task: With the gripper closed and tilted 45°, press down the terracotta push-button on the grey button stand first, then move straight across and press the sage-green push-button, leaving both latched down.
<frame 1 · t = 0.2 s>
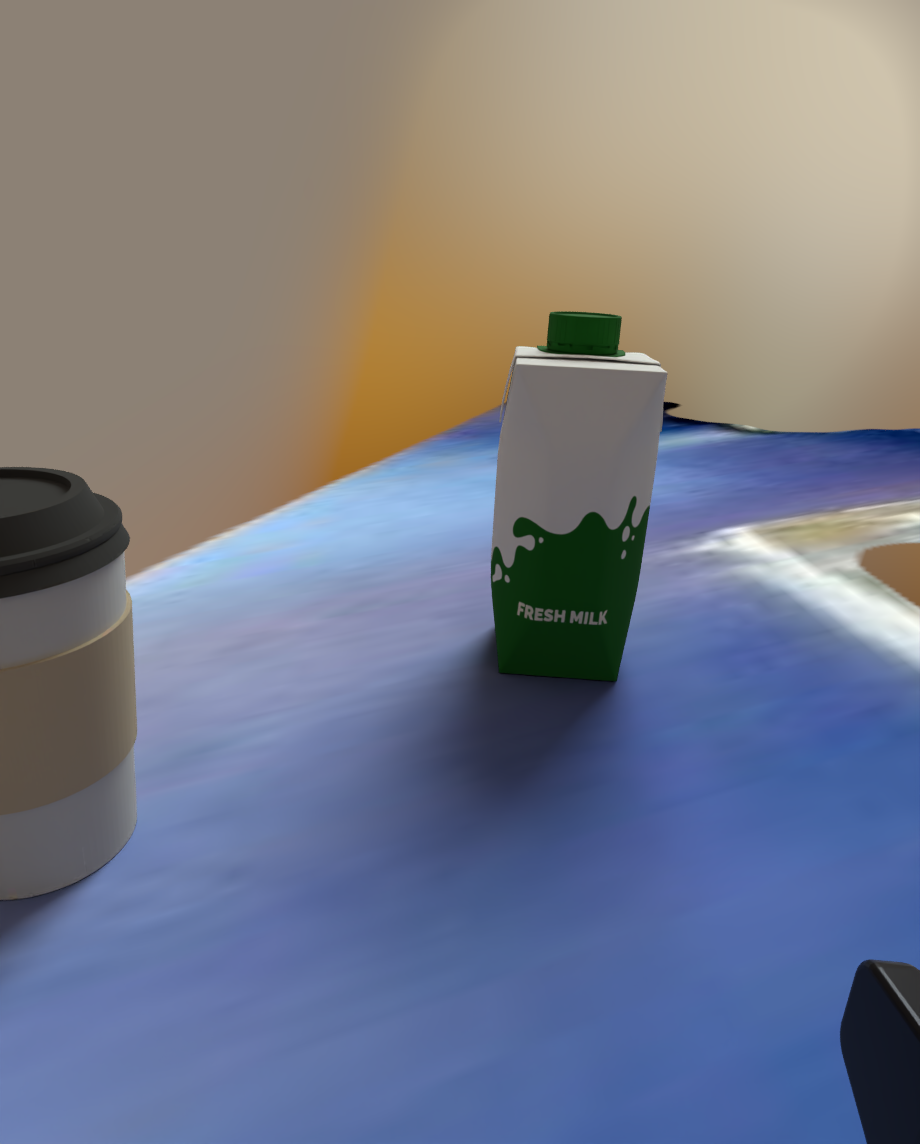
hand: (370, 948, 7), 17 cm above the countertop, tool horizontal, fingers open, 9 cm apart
coffee cup: (47, 838, 31), on the countertop
milk carton: (554, 652, 48), on the countertop
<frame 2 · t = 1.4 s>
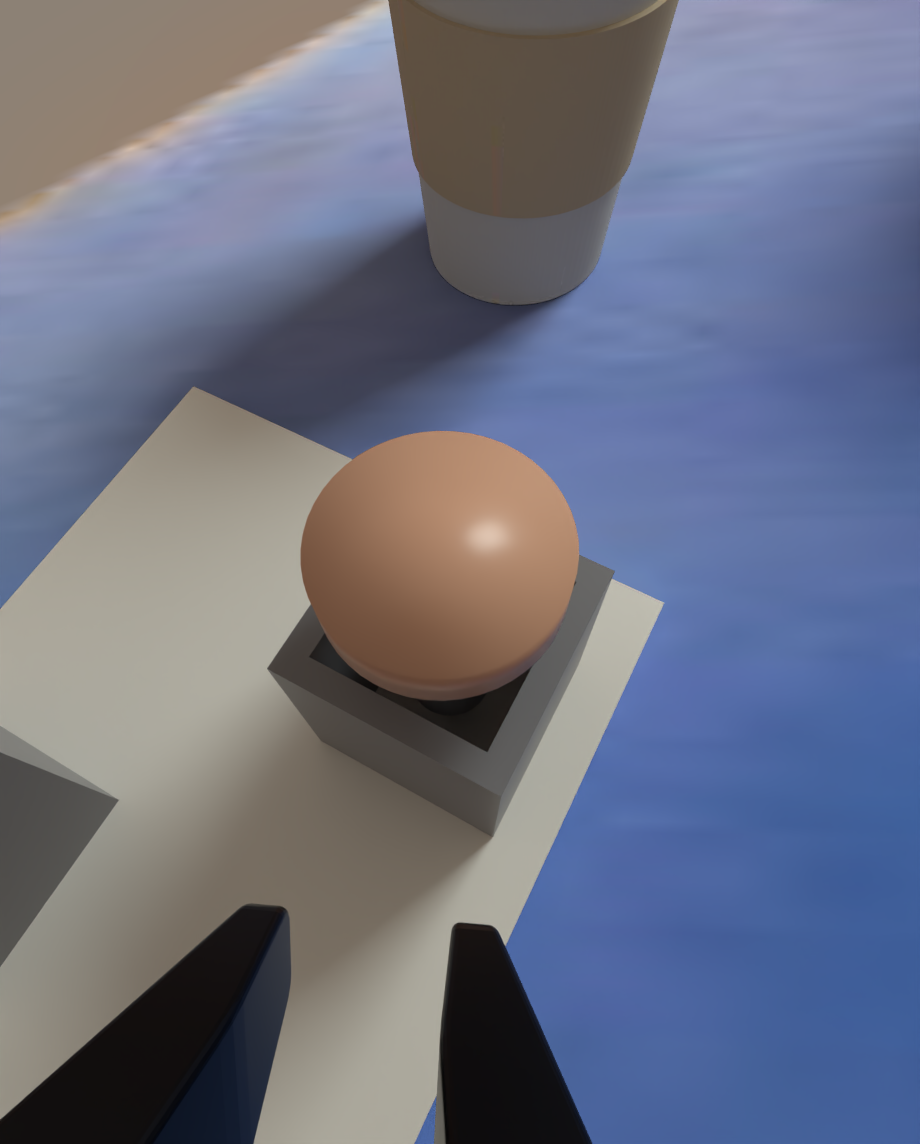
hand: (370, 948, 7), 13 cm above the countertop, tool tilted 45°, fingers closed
coffee cup: (515, 246, 30), on the countertop
terracotta button: (445, 623, 16), point 7 cm above the countertop, slide at 0.0 cm
grey button stand: (244, 762, 21), on the countertop
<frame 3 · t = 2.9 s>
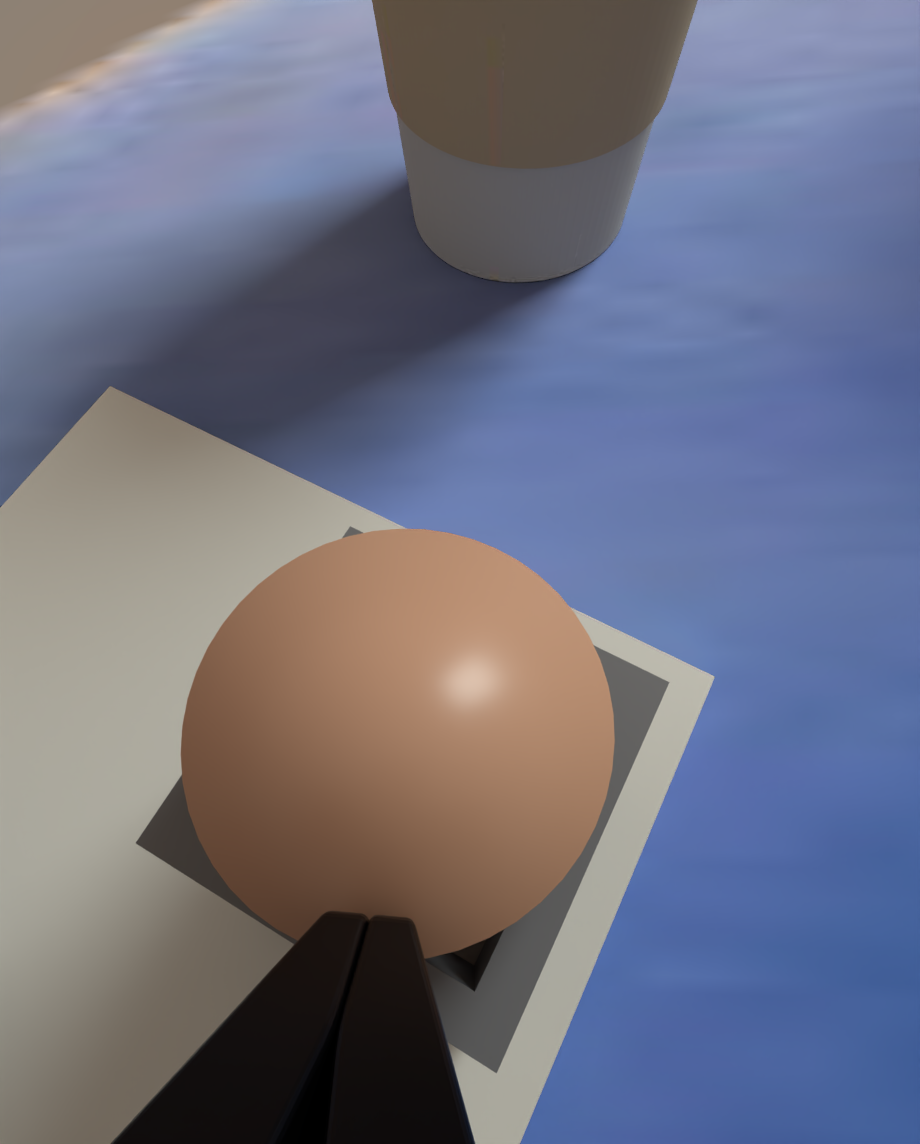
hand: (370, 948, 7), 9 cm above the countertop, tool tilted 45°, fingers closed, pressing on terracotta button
coffee cup: (518, 209, 25), on the countertop
terracotta button: (418, 775, 11), point 6 cm above the countertop, slide at 1.0 cm, touching gripper
grey button stand: (159, 891, 16), on the countertop
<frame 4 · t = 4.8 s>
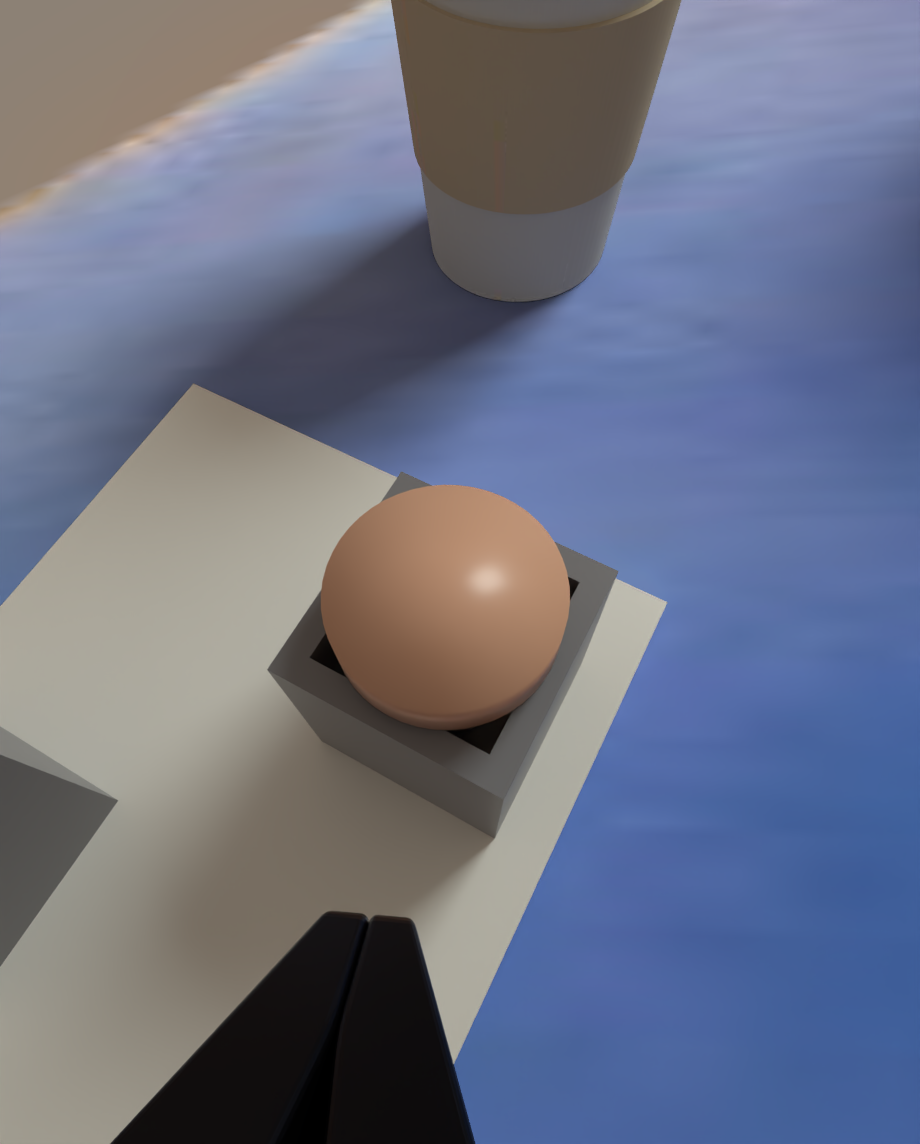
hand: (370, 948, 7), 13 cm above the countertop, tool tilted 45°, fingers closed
coffee cup: (517, 242, 30), on the countertop
terracotta button: (450, 653, 17), point 5 cm above the countertop, slide at 1.8 cm
grey button stand: (244, 762, 21), on the countertop
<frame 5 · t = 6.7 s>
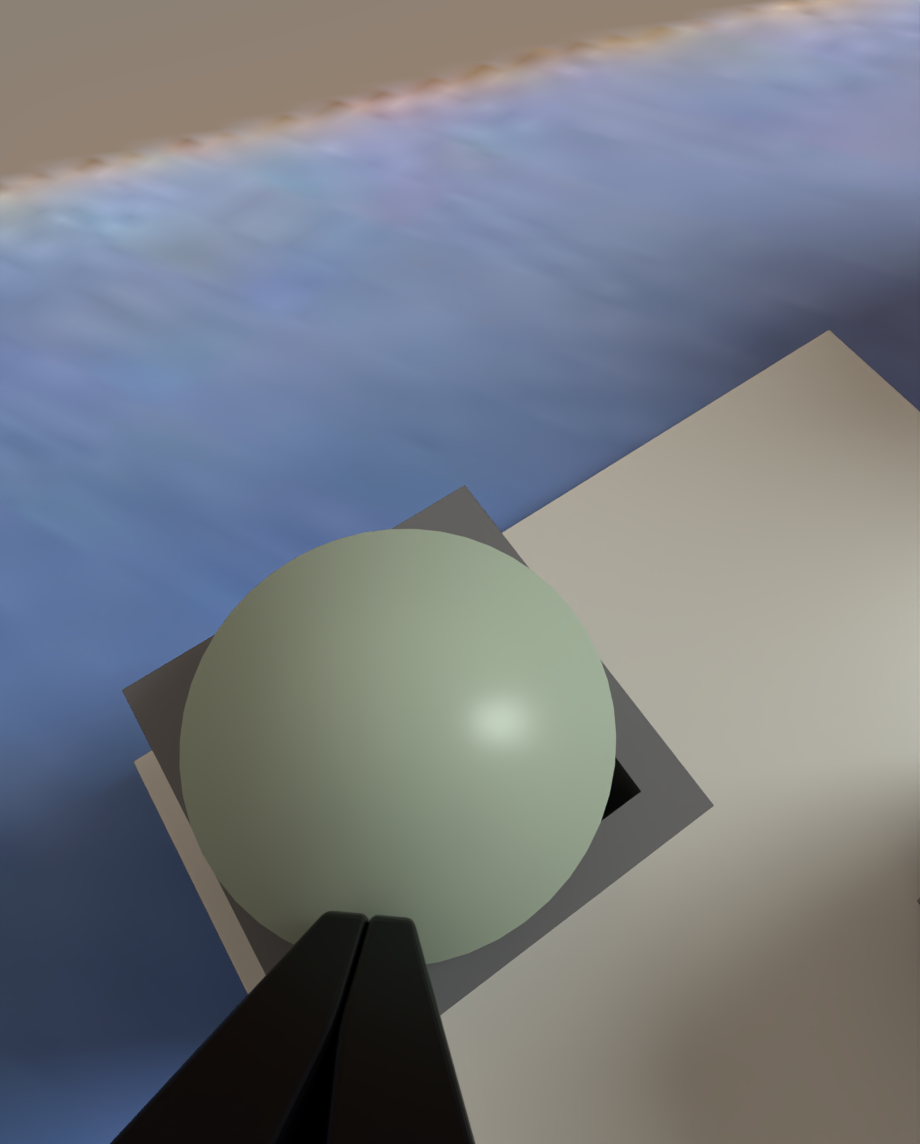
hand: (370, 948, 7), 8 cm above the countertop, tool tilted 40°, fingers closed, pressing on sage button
sage button: (419, 773, 11), point 5 cm above the countertop, slide at 1.9 cm, touching gripper
grey button stand: (764, 857, 15), on the countertop
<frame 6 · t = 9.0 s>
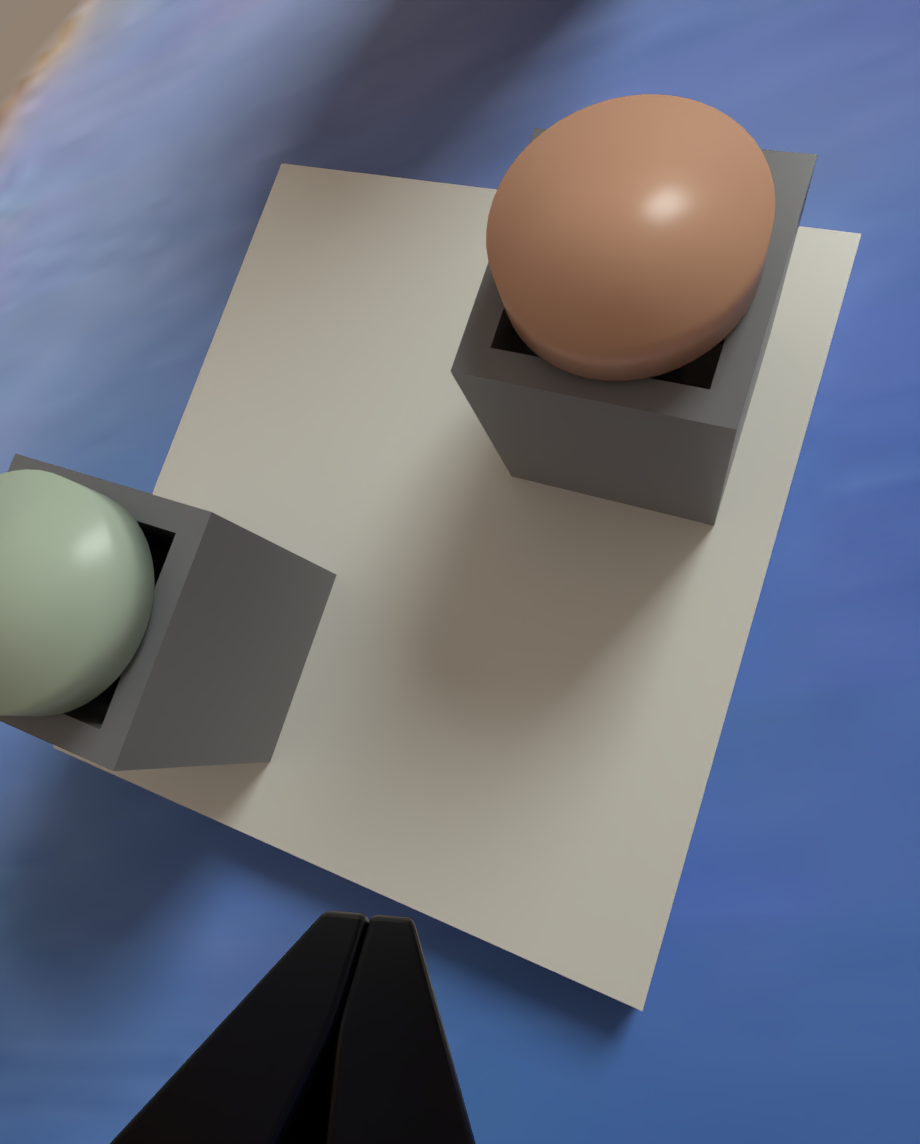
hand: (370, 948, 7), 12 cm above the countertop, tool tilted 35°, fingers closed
sage button: (128, 616, 17), point 5 cm above the countertop, slide at 1.8 cm
terracotta button: (632, 325, 16), point 5 cm above the countertop, slide at 1.8 cm
grey button stand: (441, 521, 21), on the countertop
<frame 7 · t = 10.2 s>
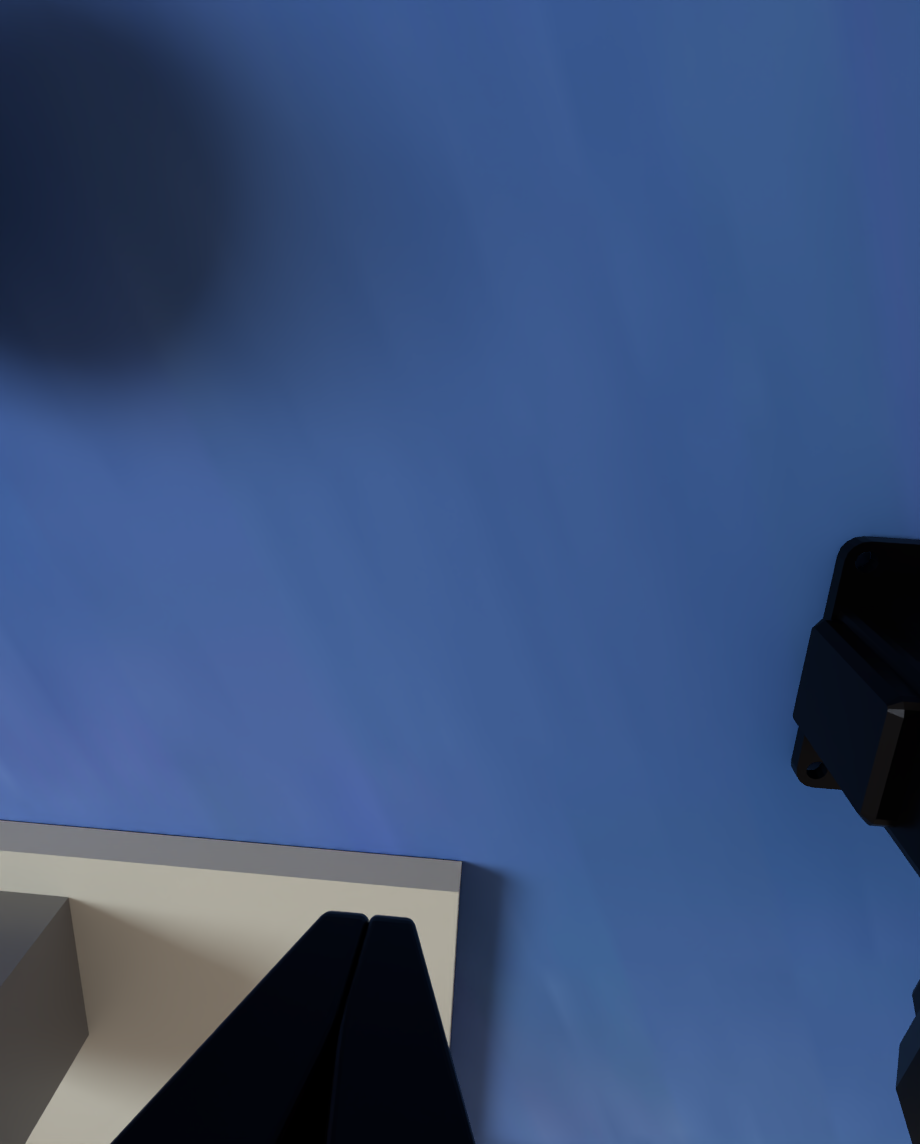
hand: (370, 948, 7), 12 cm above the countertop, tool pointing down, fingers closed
grey button stand: (156, 1049, 25), on the countertop
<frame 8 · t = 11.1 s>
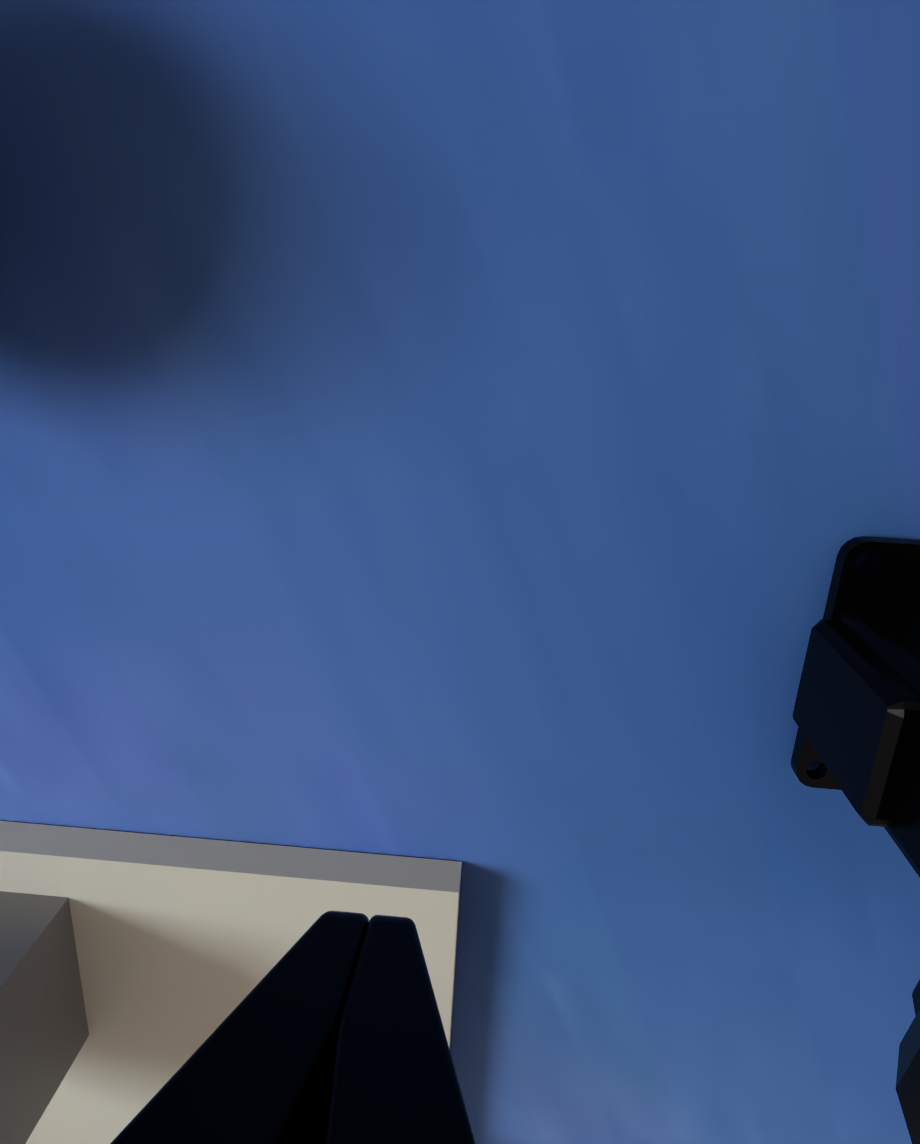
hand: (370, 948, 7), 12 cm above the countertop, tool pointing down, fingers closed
grey button stand: (157, 1049, 25), on the countertop
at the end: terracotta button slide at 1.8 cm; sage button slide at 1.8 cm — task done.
